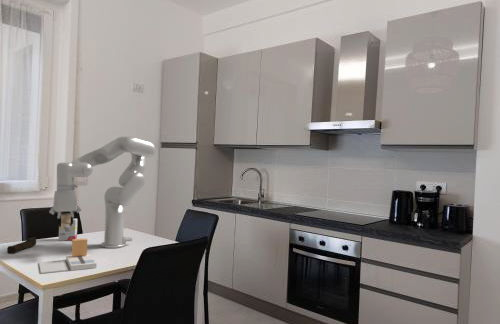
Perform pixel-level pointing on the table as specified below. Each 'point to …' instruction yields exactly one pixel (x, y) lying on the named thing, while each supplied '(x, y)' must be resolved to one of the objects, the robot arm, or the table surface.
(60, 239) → the ink box
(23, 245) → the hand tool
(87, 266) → the switch housing
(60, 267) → the tool mat
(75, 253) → the slide tab
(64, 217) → the tan block on stem
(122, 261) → the table surface
